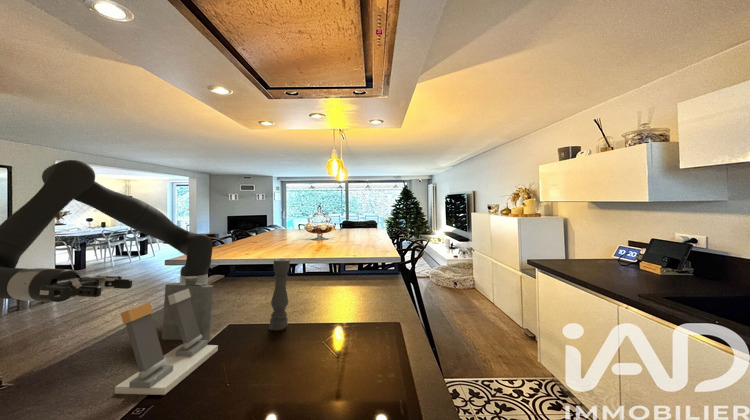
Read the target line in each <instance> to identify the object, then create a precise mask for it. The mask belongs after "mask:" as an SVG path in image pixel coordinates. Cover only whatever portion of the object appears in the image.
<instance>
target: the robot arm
mask: <svg viewBox="0 0 750 420" xmlns="http://www.w3.org/2000/svg"><path fill="white" fill-rule="evenodd" d="M41 179H42V182H43V184H42V186H41V188H40V189H39V190H38V191H37V193H35V195H34V196H32V197H31V198H30V199H29V200H28V201H27V202H26V203H24V205H22V206H20V208H18V209H17V210H16V211H15V212H14V213H12V214H11V215H10V216H8V217H7V218H6V219H5V220H4V221H3V222H2V223H1V224H0V299H4V300H21V301H28V302H45V303H46V302H48V303H49V302H50V303H51V302H52V303H61V302H65V301H67V300H70V299H71V298H75V299H77V298H80V297H81V298H82V297H83V298H85V297H86V298H97V297H100V296H101V295H102V292H103V291H104V290H108V289H122V290H123V289H124V290H129V289H131V288H132V287H133V280H132V279H126V278H125V279H124V278H122V276H119V275H118V276H117V275H116V276H114V275H113V276H111V275H95V276H90V275H89V276H88V275H87V276H86V275H85V276H80V274H79V273H78V272H77V271H76V270H73V269H64V268H48V267H46V268H45V267H44V268H43V267H36V268H24V267H23V268H22V267H21V268H20V267H17V266H18V264H19V260H20V258H21V257H22V255H23V254H24V253H25V252H26V251H27V250H28V249H29V248H30V246H31V245H33V243H34V241H36V240H37V238H38V237H39V236H40V235H41V234H42V232H43V231H44V230H45V229H46V228H47V227H48V225H50V223H51V222H52V221H53V220H54V219H55V218H56V217H57V216H58V215H59V213H61V212H62V211H63V209H65V208H66V207H67V206H68V205H69V204H70V203H71V202H72V201H73V200H74V201H77V202H80V203H81V204H84V205H87V206H88V207H91V208H94V209H95V210H96V211H98V212H100V213H102V214H104V215H106V216H108V217H110V218H112V219H113V220H116V221H118V222H120V223H121V224H123V225H125V226H127V227H129V228H131V229H133V230H135V231H138V232H139V233H142V234H144V235H145V236H148V237H151V238H154V239H157V240H160V241H161V242H164V243H165V244H167V245H169V246H171V248H174V249H175V250H177V251H178V252H179V253H181V254H183V255H184V256H186V261H185V265H183V266H182V267H181V269H180V276H179V283H186V280H185V277H191V276H196V277H198V280H196V281H197V283H203V284H207V285H208V278H209V277H208V275H209V269H210V267H211V263H212V255H213V241H212V238H211V237H209V235H208V234H207V235H206V234H203V233H197V232H196V233H194V232H191V231H189V230H188V229H184V228H183V227H180V226H178V225H177V224H175V223H174V222H173V221H172V220H171V219H169V218H168V217H167V215H165V213H163V212H162V211H160V210H159V209H157V208H155V207H154V206H153V205H150V204H148V203H147V202H145V201H143V200H140V199H138V198H136V197H133V196H130V195H127V194H123V193H120V192H117V191H115V190H111V189H110V188H108V187H106V186H104V185H102V184H101V183H99V182H98V181H95V180H96V173H95V170H94V169H93V168H92V166H90V165H89V164H87V163H86V162H83V161H81V160H76V159H70V160H69V159H67V160H61V161H58V162H56V163H54V164H52V165H50V166H48V167H47V168H45V169H44V170H43V172H42V174H41Z"/></svg>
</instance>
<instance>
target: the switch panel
mask: <svg viewBox="0 0 750 420" xmlns="http://www.w3.org/2000/svg"><path fill="white" fill-rule="evenodd" d="M218 349H219V345H215V344H209V341H208V340H199V341H197V342H196V343H195V344H193V345H192V346H190V347H189V348H187V349H184V348H183V343H182V344H180V345H178V346H177V347H174V348H172V350H170V351H169V352H167V353H165V354H163V356H164V358H165V359H166V363H165V364H164V365H162V366H161V367H160V368H158V369H157V370H155V371H154V372H152V373H151V374H149V375H148V376H146V377H145V378H143V379H141V378H139V371H138V372H136V373H134V374H133V375H131V376H130V377H128V378H126V379H125V380H124V381H121V382H120V383H119V384H117V385H115V388H114V394H115V395H116V394H117V395H119V394H120V395H122V394H123V395H151V396H152V395H155V396H156V395H160V396H161V395H162V396H165V395H166V394H167V393H169V392H170V391H171V390H172V389H173V388H175V387H176V386H177V385H178V384H179V383H181V382H182V381H183V380H184V379H185V378H187V377H189V375H191V374H192V373H193V372H194V371H195V370H196V369H197V368H199V366H201V365H202V364H204V362H206V361H207V360H208V359H210V358H212V356H213V355H214V354H215V353H217V352H218Z"/></svg>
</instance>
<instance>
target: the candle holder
mask: <svg viewBox="0 0 750 420" xmlns="http://www.w3.org/2000/svg"><path fill="white" fill-rule="evenodd" d="M290 261H291V260H290V259H288V258H276V259H273V272H274V274H275V275H273V280H274V282H275V283H274V284H275V285H274V289H273V295H272V297H271V301H270V304H271V307H272V310H273V311H272V313H271V315H270V319H269V330H270V329H281V328H284V327H286V326H287V327H288V322H289V321H288V320H289V319H288V314H287V312H286V308H287V307H288V304H289V298H288V292H287V291H288V290H287V279H289V275H288V272H289V269H290V266H291V265H290V263H291V262H290Z"/></svg>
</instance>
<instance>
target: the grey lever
mask: <svg viewBox="0 0 750 420" xmlns="http://www.w3.org/2000/svg"><path fill="white" fill-rule="evenodd" d="M190 297H191V295H190V292H189V289H186V290H183V291H180V292H177V293H174V294H171V295H169V296H168V299H169V302H170V305H171V304H172V307H173V310H174V313H175V317H176V320H177V324H178V327H179V331H180V334H181V338H182V340H181V341H182V344H183V348H184V349H187V348H189V347H190V346H192V345H193V344H195V343H196V342H197V341H199V340H200V339H202V335H201V334H200V331H199V328H198V324H197V321H196V317H195V314H194V310H193V307H192V304H191V300H190Z"/></svg>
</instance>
